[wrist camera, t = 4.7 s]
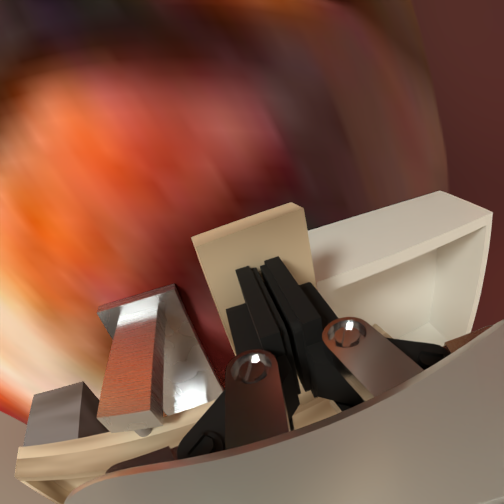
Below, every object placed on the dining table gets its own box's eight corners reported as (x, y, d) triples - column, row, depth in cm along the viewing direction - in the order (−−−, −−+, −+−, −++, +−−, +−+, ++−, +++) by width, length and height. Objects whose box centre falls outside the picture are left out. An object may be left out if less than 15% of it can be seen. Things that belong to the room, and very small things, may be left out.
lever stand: (99, 306, 19) (64, 410, 11) (174, 283, 20) (172, 393, 11) (169, 411, 25) (174, 498, 16) (228, 397, 25) (248, 486, 17)
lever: (-37, 303, 12) (-87, 376, 5) (312, 164, 17) (409, 188, 10) (83, 448, 19) (86, 519, 12) (337, 357, 24) (390, 416, 17)
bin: (281, 239, 20) (316, 282, 15) (440, 190, 21) (492, 212, 16) (308, 377, 26) (332, 425, 21) (430, 321, 27) (463, 354, 22)
